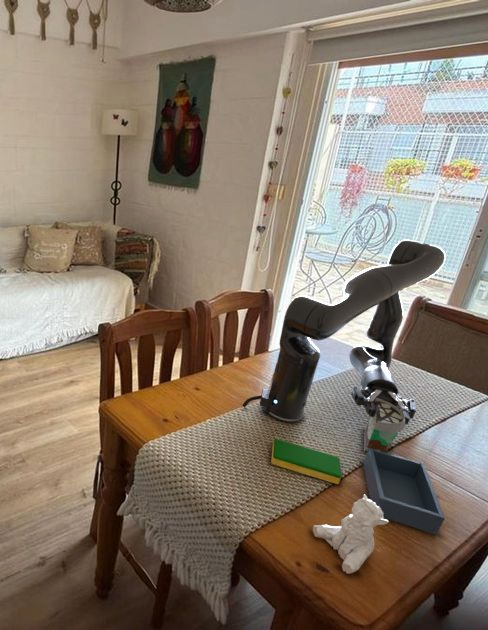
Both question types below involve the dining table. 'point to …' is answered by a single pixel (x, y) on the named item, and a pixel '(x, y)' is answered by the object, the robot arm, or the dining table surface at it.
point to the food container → (383, 426)
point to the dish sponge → (306, 461)
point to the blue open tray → (403, 490)
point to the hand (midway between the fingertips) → (388, 417)
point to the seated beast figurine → (354, 533)
